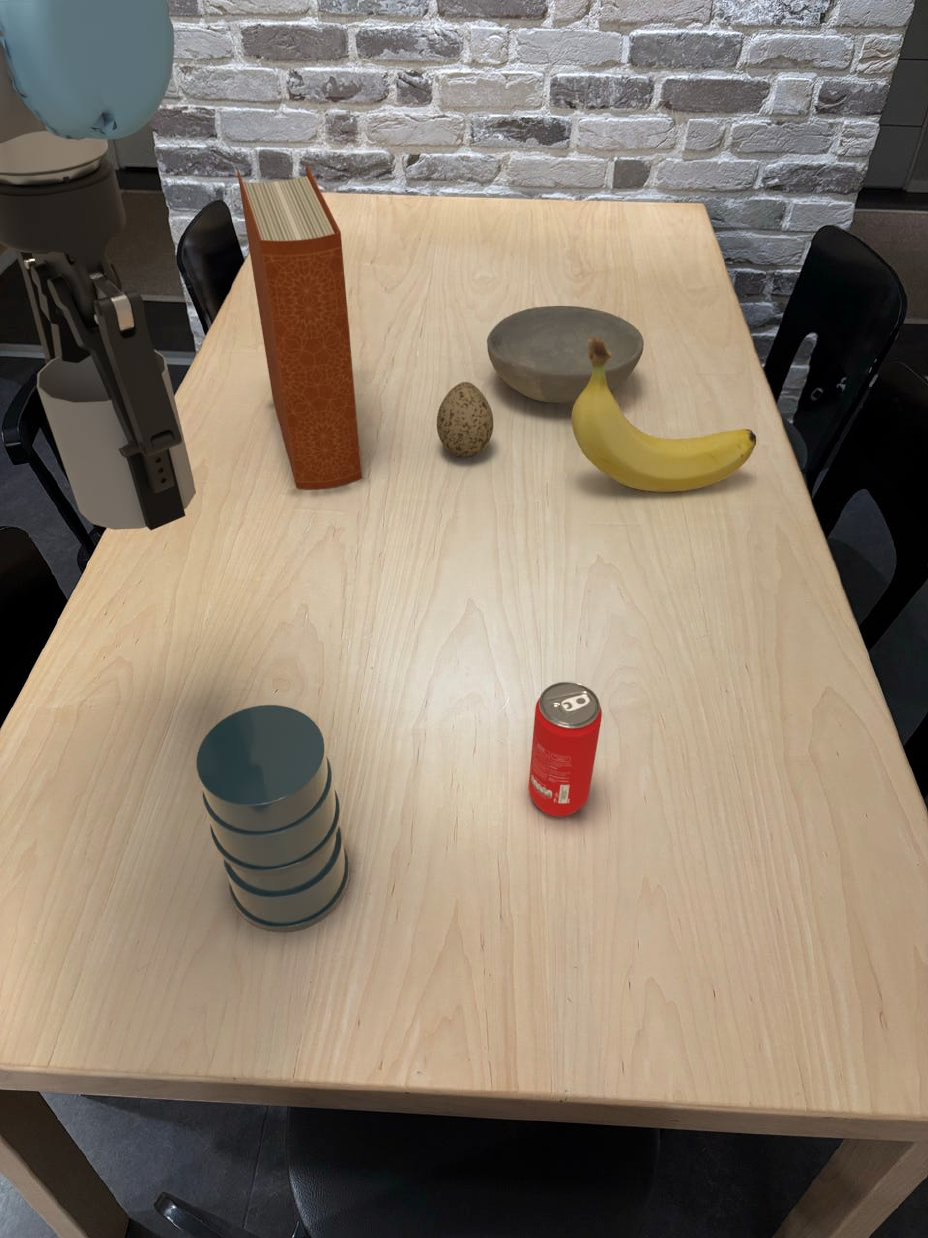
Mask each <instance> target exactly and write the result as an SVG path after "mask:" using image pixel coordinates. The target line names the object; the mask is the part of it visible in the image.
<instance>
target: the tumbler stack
mask: <svg viewBox="0 0 928 1238" xmlns="http://www.w3.org/2000/svg"><path fill="white" fill-rule="evenodd" d="M195 760H196V761H195V763H196V764H195V765H196V766H195V767H196V773H197V777H198V779H199V782H200V785H201V788H202V789H201V791H202V801H203V805H204V808H205V811H206V814H207V817H208V820H209V826H210V827H209V828H210V829H209V830H210V834H211V839H212V842H213V844H214V847H215V850H216V851H217V853H218V854H219V856H220V857H221V858H222V862H223V865H224V868H225V872H226V876H227V879H228V888H229V892H230V896H231V899H232V902H233V904H234V906H235V908H236V910H237V911H238V913H239V914H240V915H241V916H242V917H243V919H245V920H246V921H247V922H248V923H250V924H251V925H253V926H255V927H257V928H260V929H262V930H265V931H268V932H269V931H270V932H276V933H289V932H296V931H299V930H304V929H306V928H309V927H311V926H314V925H315V924H317V923H319V922H320V921H322V920H324V919H325V918H326V917H327V916H329V915H330V914H331V913H332V912H333V911H334V910H335V909H336V907H338V905H339V904H340V902H341V901H342V899H343V897H344V895H345V894H346V892H347V888H348V885H349V881H350V865H349V864H350V863H349V858H348V854H347V851H346V849H345V847H344V842H343V836H342V830H341V827H340V823H341V805H340V800H339V795H338V793H337V791H336V789H335V783H334V777H333V771H332V767H331V763H330V761H329V758H328V756H327V751H326V747H325V740H324V736H323V733H322V731H321V729H320V727H319V726H318V724H316V722H315V721H314V720H313V719H312V718H311V717H310V716H308V715H307V714H305V713H304V712H302V711H300V710H298V709H296V708H292V707H289V706H286V705H277V704H263V705H256V706H250V707H247V708H243V709H241V710H238V711H236V712H233V713H231V714H229V715H228V716H226V717H225V718H223V719H221V720H220V721H218V722H217V723H216V724H215V725H214V726H213V727H212V728H211V729H210V730H209V731H208V733H207V734H206V735H205V736H204V738H203V739H202V741H201V743H200V744H199V748H198V751H197V754H196V759H195Z"/></svg>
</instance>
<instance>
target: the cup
mask: <svg viewBox="0 0 928 1238" xmlns="http://www.w3.org/2000/svg"><path fill="white" fill-rule="evenodd" d="M154 351H155V354H156V358H157V361H158V364H159V367H160V370H161V374H162V377H163V380H164V383H165V386H166V390H167V393H168V396H169V399H170V402H171V406H172V409H173V412H174V415H175V418H176V422H177V425H178V428H179V431H180V433H181V438H182V443H181V444H179V445H177V446H174V447H171V448H169V450H170V454H171V458H172V462H173V466H174V470H175V475H176V479H177V483H178V487H179V491H180V495H181V499H182V503H183V507H184V510H186V509H188V507H189V505H190V503H191V502H192V500H193V498H194V497H195V496H196V494H197V492H196V485H195V481H194V475H193V472H192V467H191V463H190V459H189V453H188V450H187V446H186V445H187V444H186V441H185V437H184V432H183V428H182V424H181V421H180V420H181V419H180V415H179V412H178V407H177V403H176V397H175V394H174V389H173V386H172V380H171V377H170V372H169V368H168V363H167V360H166V356H165V355H163V354H161V352H159V351H157V350H156V349H154ZM36 377H37V378H36V389H37V391H38V395H39V397H40V400H41V403H42V406H43V409H44V412H45V415H46V419H47V421H48V423H49V427H50V429H51V432H52V435H53V438H54V442H55V444H56V448H57V450H58V453H59V456H60V458H61V459H60V460H61V462H62V464H63V468H64V470H65V473H66V477H67V479H68V482H69V485H70V487H71V490H72V493H73V494H72V495H73V496H74V500H75V502H76V505H77V508H78V512H79V513H80V515H82V516H83V517H84V518H85V519H86V520H87V521H88V522H90V523H91V524H92V525H95V526H99V527H102V528H107V529H109V530H114V531H116V530H117V531H118V530H137V529H144V528H148V527H147V526H146V524H145V521H144V517H143V514H142V510H141V507H140V503H139V500H138V496H137V493H136V489H135V486H134V482H133V479H132V475H131V472H130V468H129V465H128V461H127V458H124V457H123V456H122V455H121V453H120V451H119V448H122V447H123V446H126V445H128V441H127V439H126V436H125V434H124V432H123V429H122V427H121V425H120V422H119V420H118V417H117V415H116V413H115V410H114V408H113V404H112V401H111V400H110V399H109V396H108V394H107V392H106V389H105V387H104V385H103V382H102V380H101V378H100V375H99V373H98V371H97V368H96V366H95V364H94V361H93V359H92V357H91V355H90V356H89V357H87V358H86V359H84V360H83V361H81V362H79V363H72V362H66V361H63V360H62V357H61V356H59V357H57V358H55V359H53V360H51V361H50V362H49V363H48V364H47V365H44V367H42V368H41V369H40V371H38V372H37V373H36Z"/></svg>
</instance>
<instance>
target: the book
mask: <svg viewBox="0 0 928 1238" xmlns="http://www.w3.org/2000/svg"><path fill="white" fill-rule="evenodd" d="M304 166H305V176H302V177H298V178H293V179H286V180H279V181H278V180H275V181H274V180H273V181H267V182H264V181H263V182H253V181H252V182H251V181H250V182H249V181H248V182H247V181H243V179H242V176H241V173H240V170H236V172H237V178H238V179H237V180H238V185H239V191H240V197H241V204H242V210H243V211H242V212H243V218H244V223H245V224H244V225H245V230H246V237H247V242H248V248H249V249H248V250H249V256H250V262H251V268H252V276H253V282H254V287H255V293H256V300H257V307H258V313H259V321H260V326H261V332H262V339H263V346H264V351H265V358H266V365H267V371H268V379H269V384H270V389H271V396H272V402H273V405H274V410H275V413H276V417H277V421H278V424H279V428H280V433H281V436H282V439H283V444H284V447H285V451H286V455H287V459H288V462H289V466H290V470H291V474H292V478H293V480H294V485H295V488H296V489H301V490H326V489H332V488H333V489H334V488H338V487H342V486H346V485H348V484H351V483H354V482H357V481H359V480H361V479H363V473H362V462H361V451H360V450H361V449H360V442H359V441H360V439H359V427H358V426H359V425H358V416H357V404H356V393H355V380H354V369H353V357H352V346H351V336H350V335H351V334H350V324H349V323H350V322H349V311H348V299H347V290H346V288H347V287H346V278H345V277H346V275H345V265H344V254H343V241H342V232H341V229H340V227H339V226H338V223H337V222H336V220H335V217H334V215H333V213H332V212H331V210H330V208H329V205H328V203H327V201H326V200H325V198H324V195H323V193H322V191H321V189H320V188H319V186H318V183H317V181H316V180H315V178H314V175H313V173H312V171H311V169H310V168H309V165H308V164H305V165H304Z"/></svg>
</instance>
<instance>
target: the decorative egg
mask: <svg viewBox="0 0 928 1238" xmlns="http://www.w3.org/2000/svg"><path fill="white" fill-rule="evenodd" d="M436 432H437V435H438V438H439V440H440V443H441V444H442V445H443V447H444V448H445V449H446V450H447V451H448V452H449V453H450V454H453V455H455V456H457V457H461V458H469V457H474V456H475V455H478V454H479V453H481V452H483V450H484V449H485V448H486V447H487V446H488V445H489V443H490V441H491V439H492V435H493V432H494V415H493V411H492V407H491V405H490V404H489V401H488V399H487V397H486V396H485V395H484V393H483V392H482V391H481V390H480V389H479V388H478V387H477V386H476V385H474V384H473V383H471V382H468V381H462V382H459V383H458V384H456V385H455V386H454V387H452V388H451V389H450V390H449V391H448V393H447V394H446V395H445V396H444V398H443V399H442V401H441V402H440V405H439V407H438V411H437V416H436Z"/></svg>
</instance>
